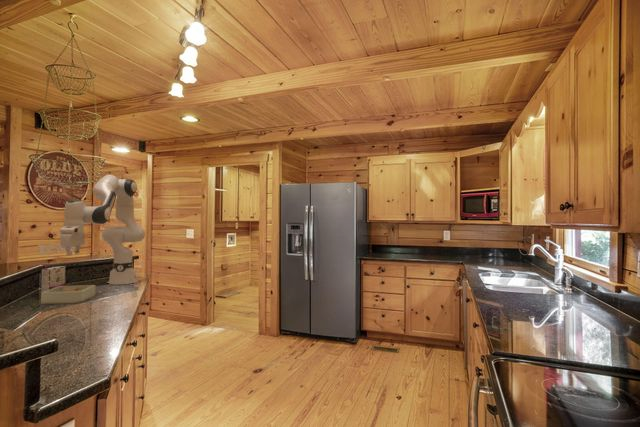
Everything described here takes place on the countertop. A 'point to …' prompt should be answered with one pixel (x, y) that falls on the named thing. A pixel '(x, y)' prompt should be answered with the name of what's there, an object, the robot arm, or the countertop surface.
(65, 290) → the ash block
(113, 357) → the countertop surface
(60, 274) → the candy bar box
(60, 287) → the box
